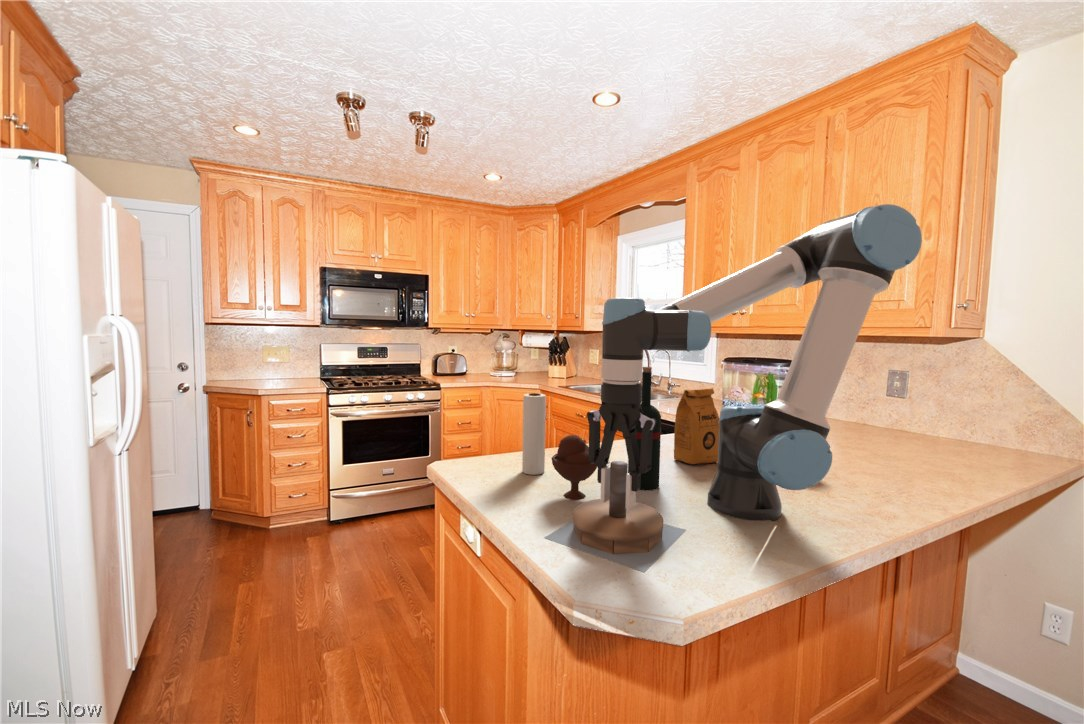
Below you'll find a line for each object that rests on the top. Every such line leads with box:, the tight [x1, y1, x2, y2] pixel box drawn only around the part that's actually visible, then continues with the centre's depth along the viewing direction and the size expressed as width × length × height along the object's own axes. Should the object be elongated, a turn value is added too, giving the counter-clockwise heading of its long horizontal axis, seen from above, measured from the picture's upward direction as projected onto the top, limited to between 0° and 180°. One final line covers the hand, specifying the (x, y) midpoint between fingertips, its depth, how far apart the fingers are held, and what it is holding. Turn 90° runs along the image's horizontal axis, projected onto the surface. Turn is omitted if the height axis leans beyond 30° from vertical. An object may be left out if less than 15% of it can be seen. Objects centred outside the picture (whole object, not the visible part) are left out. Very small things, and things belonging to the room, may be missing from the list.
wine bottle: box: [627, 366, 662, 491], centre depth 119 cm, size 8×10×30 cm
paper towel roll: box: [521, 392, 547, 476], centre depth 128 cm, size 7×6×21 cm
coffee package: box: [673, 387, 720, 465], centre depth 140 cm, size 10×12×22 cm
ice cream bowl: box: [551, 434, 598, 501], centre depth 109 cm, size 11×11×15 cm
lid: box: [572, 460, 664, 554], centre depth 90 cm, size 17×17×14 cm
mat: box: [543, 519, 687, 573], centre depth 90 cm, size 20×20×1 cm
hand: (617, 503), depth 90 cm, fingers open, 4 cm apart
